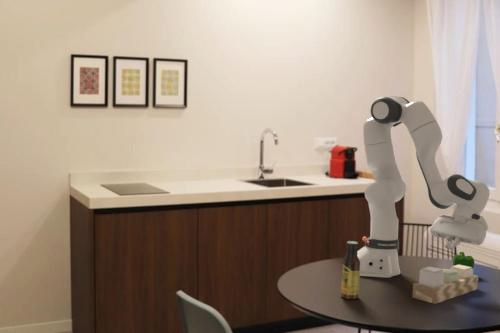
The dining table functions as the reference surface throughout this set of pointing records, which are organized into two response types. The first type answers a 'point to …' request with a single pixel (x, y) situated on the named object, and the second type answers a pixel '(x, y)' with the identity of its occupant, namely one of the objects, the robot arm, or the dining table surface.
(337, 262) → the dining table surface
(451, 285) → the keypad housing
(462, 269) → the cream key
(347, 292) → the sauce bottle
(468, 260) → the bell pepper
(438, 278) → the grey key
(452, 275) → the sage key
